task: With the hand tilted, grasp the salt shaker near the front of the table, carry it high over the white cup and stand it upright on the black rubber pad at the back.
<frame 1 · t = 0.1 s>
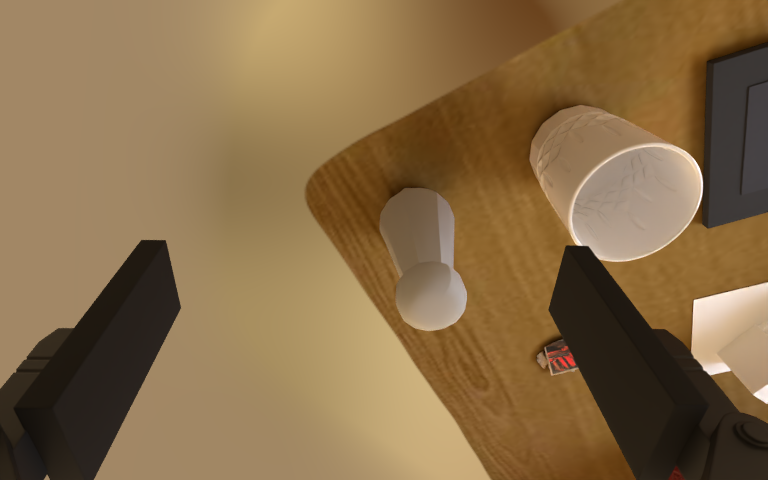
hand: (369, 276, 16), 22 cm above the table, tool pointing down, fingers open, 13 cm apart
matchbox: (561, 353, 49), on the table
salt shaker: (413, 208, 40), on the table
white cup: (571, 147, 37), on the table
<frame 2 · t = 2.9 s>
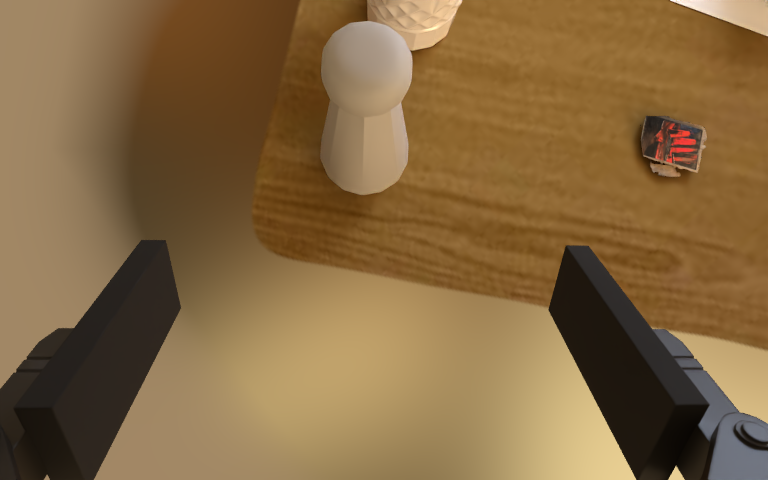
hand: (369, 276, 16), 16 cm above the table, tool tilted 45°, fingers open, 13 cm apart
matchbox: (668, 148, 36), on the table
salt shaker: (363, 166, 34), on the table
white cup: (409, 15, 37), on the table
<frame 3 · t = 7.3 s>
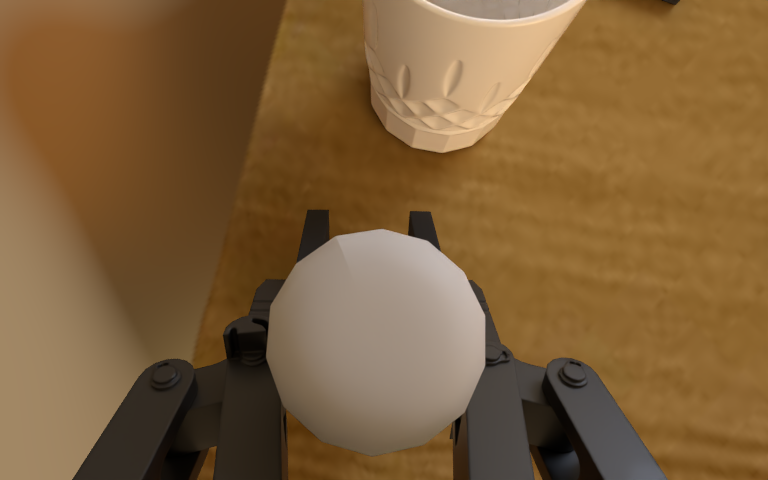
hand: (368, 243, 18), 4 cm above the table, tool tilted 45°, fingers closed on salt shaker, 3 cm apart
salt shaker: (366, 351, 21), on the table, touching gripper
white cup: (435, 94, 24), on the table
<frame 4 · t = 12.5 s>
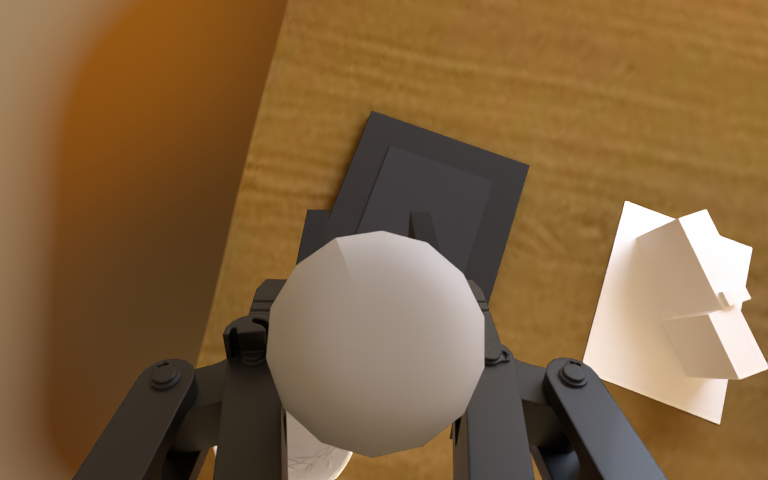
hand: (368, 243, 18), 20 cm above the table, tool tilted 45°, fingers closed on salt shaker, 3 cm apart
napkin holder: (668, 306, 39), on the table
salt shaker: (366, 351, 21), point 16 cm above the table, touching gripper
rubber pad: (422, 215, 40), on the table
white cup: (305, 405, 36), on the table
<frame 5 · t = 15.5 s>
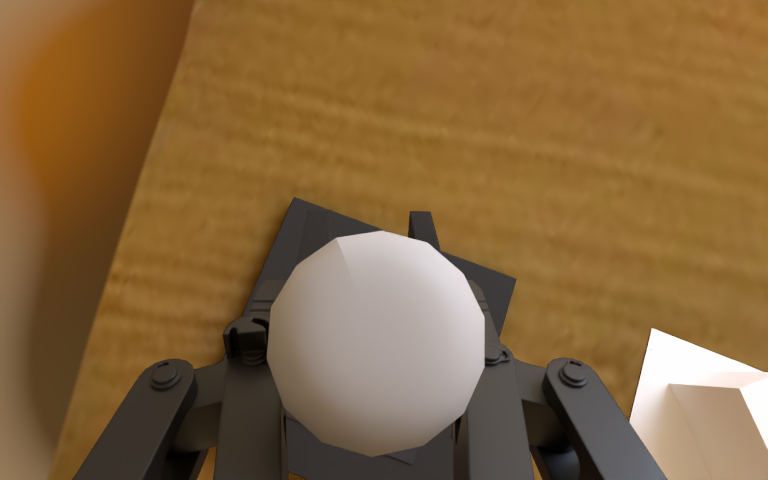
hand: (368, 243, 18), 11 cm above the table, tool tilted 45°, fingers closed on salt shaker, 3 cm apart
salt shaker: (366, 351, 21), point 6 cm above the table, touching gripper
rubber pad: (362, 352, 28), on the table
when the fingers open (5 cm above the table, at t = 17.6 s): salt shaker stays where it is, resting on rubber pad.
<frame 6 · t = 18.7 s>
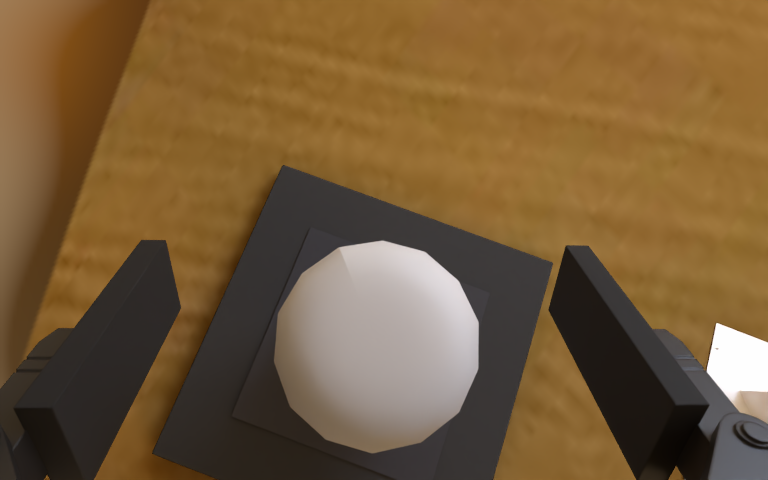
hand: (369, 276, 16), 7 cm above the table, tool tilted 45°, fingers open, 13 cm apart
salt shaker: (367, 353, 22), point 1 cm above the table, touching rubber pad
rubber pad: (365, 352, 23), on the table
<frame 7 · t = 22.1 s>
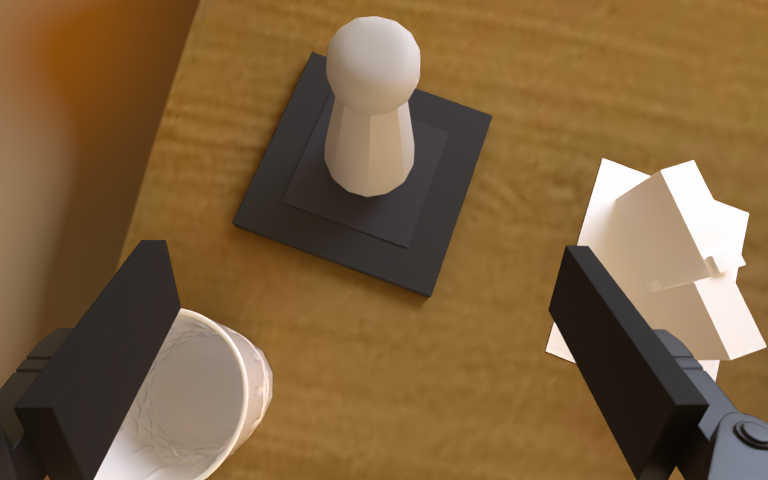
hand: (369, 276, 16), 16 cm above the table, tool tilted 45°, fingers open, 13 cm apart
napkin holder: (650, 279, 34), on the table
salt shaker: (368, 168, 34), point 1 cm above the table, touching rubber pad
rubber pad: (367, 171, 34), on the table
white cup: (220, 387, 30), on the table
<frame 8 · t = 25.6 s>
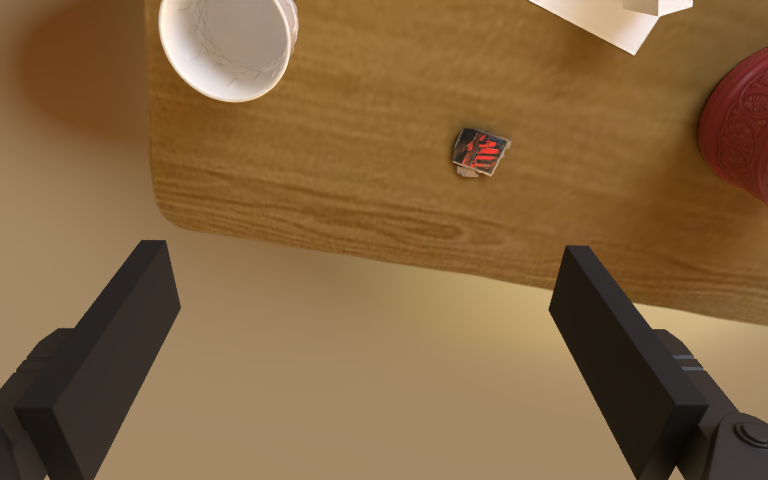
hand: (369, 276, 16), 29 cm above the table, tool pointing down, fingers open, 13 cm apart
matchbox: (477, 152, 45), on the table
kitchen canister: (765, 112, 44), on the table
white cup: (256, 17, 38), on the table
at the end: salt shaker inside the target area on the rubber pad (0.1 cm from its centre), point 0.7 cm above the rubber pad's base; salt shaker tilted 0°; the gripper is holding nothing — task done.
